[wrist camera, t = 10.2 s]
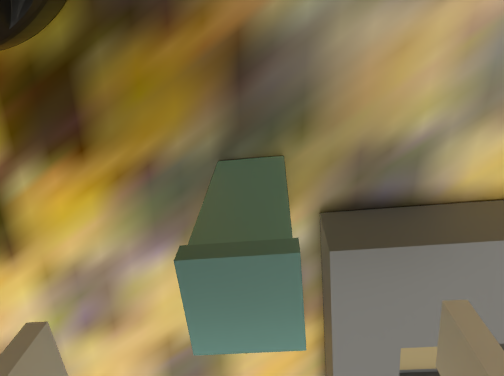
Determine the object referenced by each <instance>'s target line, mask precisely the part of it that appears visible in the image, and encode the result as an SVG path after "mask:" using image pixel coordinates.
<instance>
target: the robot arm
mask: <svg viewBox="0 0 504 376" xmlns="http://www.w3.org/2000/svg"><path fill="white" fill-rule="evenodd" d="M65 2H66V0H0V50H4V49H7V48H10V47H13V46H16V45H18V44H20V43H22V42H24V41H26V40H28V39H30V38H31V37H33V36H34V35H36V34H37V33H38V32H40V31H41V30H42V29H43V28H44V27H45V26H47V25H48V24H49V22H50V21H51V20H52V19H53V18H54V17H55V16H56V15H57V13H58V12H59V11H60V9H61V8H62V6H63V5H64V3H65ZM436 368H437V370H438V372H439V374H440V376H504V350H503V349H502V347H501V346H500V345H499V343H498V342H497V340H496V339H495V338H494V336H493V335H492V333H491V332H490V331H489V329H488V328H487V326H486V325H485V324H484V322H483V321H482V319H481V318H480V317H479V315H478V314H477V312H476V311H475V310H474V308H473V307H472V305H471V304H470V303H469V301H468V300H449V301H442V309H441V318H440V328H439V338H438V347H437V357H436ZM0 376H68V374H67V372H66V369H65V366H64V364H63V361H62V358H61V356H60V353H59V350H58V348H57V345H56V342H55V340H54V337H53V335H52V332H51V329H50V327H49V324H48V322H31V323H26V324H25V325H24V326H23V328H22V329H21V330H20V331H19V333H18V334H17V335H16V336H15V337H14V339H13V340H12V341H11V342H10V344H9V345H8V346H7V347H6V349H5V350H4V351H3V352H2V353H1V355H0Z"/></svg>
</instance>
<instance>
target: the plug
mask: <svg viewBox="0 0 504 376" xmlns="http://www.w3.org/2000/svg"><path fill="white" fill-rule="evenodd" d="M174 264H175V269H176V274H177V278H178V283H179V288H180V293H181V297H182V302H183V307H184V311H185V316H186V321H187V326H188V330H189V335H190V340H191V345H192V349H193V354H194V355H214V354H236V353H259V352H281V351H303V350H306V337H305V321H304V305H303V289H302V273H301V257H300V247H299V240H298V238H292V228H291V219H290V209H289V200H288V190H287V181H286V171H285V162H284V156H275V157H263V158H251V159H239V160H227V161H218V162H217V165H216V168H215V171H214V174H213V176H212V179H211V182H210V185H209V187H208V190H207V193H206V196H205V199H204V201H203V204H202V207H201V210H200V212H199V215H198V218H197V221H196V224H195V226H194V229H193V232H192V235H191V237H190V240H189V243H188V245H184V246H180V247H179V249H178V252H177V254H176V257H175V259H174Z"/></svg>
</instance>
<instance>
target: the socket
mask: <svg viewBox="0 0 504 376" xmlns="http://www.w3.org/2000/svg"><path fill="white" fill-rule="evenodd" d="M320 232H321V259H322V285H323V312H324V338H325V365H326V376H440V374H439V372H438V370H437V368H436V357H437V347H438V338H439V328H440V318H441V309H442V301H449V300H468V301H469V303H470V304H471V305H472V307H473V308H474V310H475V311H476V312H477V314H478V315H479V317H480V318H481V319H482V321H483V322H484V324H485V325H486V326H487V328H488V329H489V331H490V332H491V333H492V335H493V336H494V338H495V339H496V340H497V342H498V343H499V345H500V346H501V347H502V349H503V350H504V200H496V201H482V202H468V203H454V204H440V205H426V206H412V207H398V208H384V209H370V210H356V211H342V212H327V213H320Z"/></svg>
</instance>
